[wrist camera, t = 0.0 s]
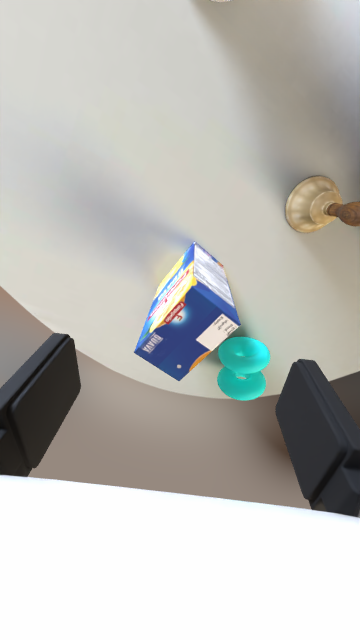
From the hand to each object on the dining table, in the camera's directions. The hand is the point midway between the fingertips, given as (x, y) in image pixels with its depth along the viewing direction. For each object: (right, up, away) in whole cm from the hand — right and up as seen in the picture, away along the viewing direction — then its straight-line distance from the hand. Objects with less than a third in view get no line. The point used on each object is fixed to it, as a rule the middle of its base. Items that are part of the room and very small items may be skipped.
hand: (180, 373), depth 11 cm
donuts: (+13, -5, +45) cm, 47 cm away
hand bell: (+21, +21, +30) cm, 42 cm away
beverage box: (+2, +11, +37) cm, 38 cm away
